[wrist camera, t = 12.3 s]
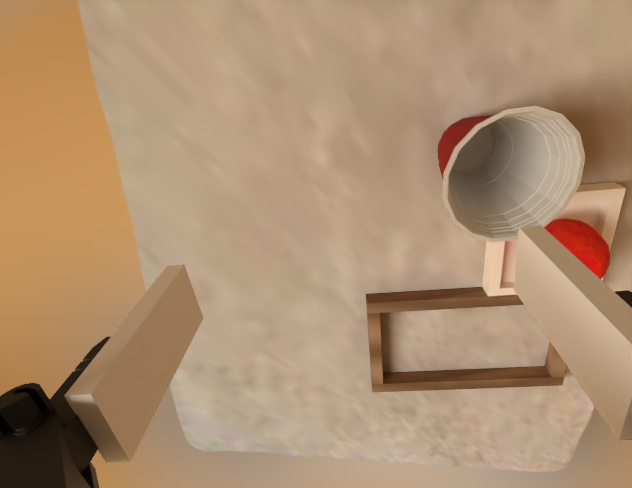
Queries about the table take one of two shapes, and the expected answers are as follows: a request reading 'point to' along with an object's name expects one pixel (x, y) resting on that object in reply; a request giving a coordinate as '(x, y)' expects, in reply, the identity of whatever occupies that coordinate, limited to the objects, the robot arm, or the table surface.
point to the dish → (586, 205)
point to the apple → (582, 243)
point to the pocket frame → (450, 378)
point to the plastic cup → (509, 171)
